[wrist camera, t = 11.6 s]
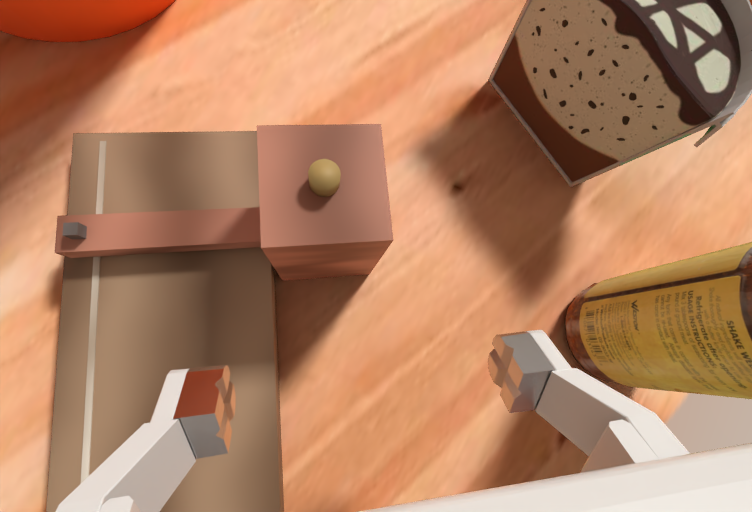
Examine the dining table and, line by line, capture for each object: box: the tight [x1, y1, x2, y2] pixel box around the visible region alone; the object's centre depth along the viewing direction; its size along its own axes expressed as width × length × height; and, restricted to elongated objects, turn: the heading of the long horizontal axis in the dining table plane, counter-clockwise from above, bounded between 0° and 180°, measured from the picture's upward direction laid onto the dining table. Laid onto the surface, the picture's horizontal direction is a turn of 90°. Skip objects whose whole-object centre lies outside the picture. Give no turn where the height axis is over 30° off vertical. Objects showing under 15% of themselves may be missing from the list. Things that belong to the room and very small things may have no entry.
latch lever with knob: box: [55, 124, 393, 281], centre depth 18 cm, size 15×5×9 cm, turn 95°
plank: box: [46, 131, 284, 512], centre depth 20 cm, size 10×22×2 cm, turn 5°
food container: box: [488, 0, 752, 187], centre depth 22 cm, size 12×6×10 cm, turn 35°
